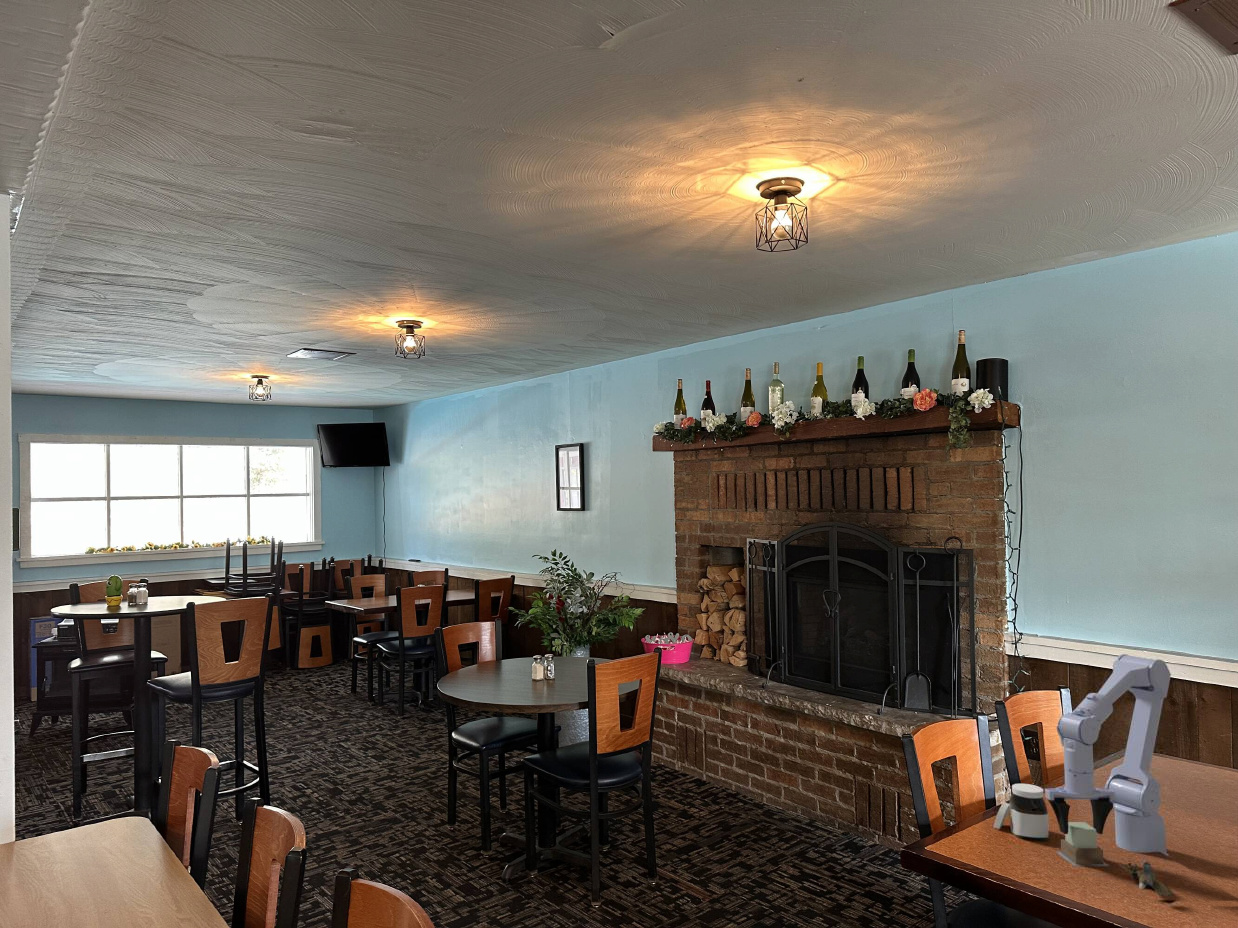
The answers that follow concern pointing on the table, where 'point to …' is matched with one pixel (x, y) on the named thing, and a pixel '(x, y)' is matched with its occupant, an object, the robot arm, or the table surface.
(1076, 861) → the walnut block
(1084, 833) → the green block
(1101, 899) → the table surface
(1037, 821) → the spread jar
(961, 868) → the table surface
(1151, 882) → the eagle figurine
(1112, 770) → the robot arm
